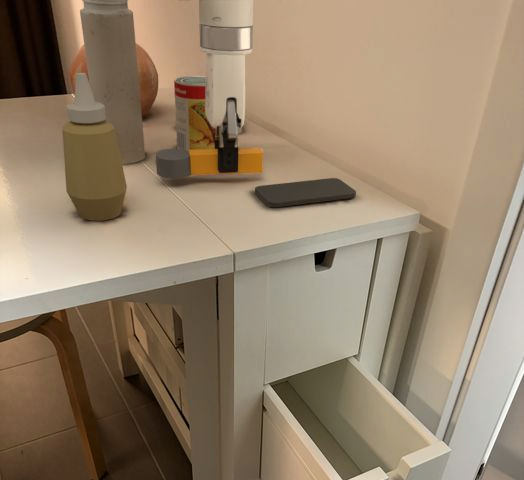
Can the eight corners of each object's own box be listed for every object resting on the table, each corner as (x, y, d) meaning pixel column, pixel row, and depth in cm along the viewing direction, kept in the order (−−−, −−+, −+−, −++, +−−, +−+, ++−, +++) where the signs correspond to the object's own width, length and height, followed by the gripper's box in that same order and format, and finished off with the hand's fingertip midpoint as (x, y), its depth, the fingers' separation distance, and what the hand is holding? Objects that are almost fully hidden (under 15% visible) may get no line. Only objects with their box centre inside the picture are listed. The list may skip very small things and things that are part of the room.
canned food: (228, 151, 104) (228, 81, 96) (194, 159, 99) (192, 86, 92) (202, 141, 108) (200, 73, 101) (169, 148, 104) (164, 78, 97)
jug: (70, 107, 124) (53, 3, 113) (149, 103, 130) (141, 3, 119) (82, 129, 111) (65, 13, 99) (170, 123, 117) (163, 13, 105)
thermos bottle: (89, 158, 97) (61, -36, 80) (118, 147, 103) (97, -37, 86) (126, 167, 94) (105, -33, 78) (154, 154, 100) (139, -33, 83)
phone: (252, 186, 87) (337, 177, 92) (252, 191, 87) (336, 182, 92) (270, 203, 81) (359, 193, 86) (269, 209, 82) (358, 198, 87)
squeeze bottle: (67, 205, 80) (44, 68, 69) (124, 200, 82) (109, 66, 72) (73, 228, 74) (48, 81, 63) (134, 221, 77) (120, 79, 66)
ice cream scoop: (157, 179, 86) (156, 158, 84) (155, 167, 90) (154, 147, 88) (264, 175, 89) (265, 155, 87) (257, 164, 93) (258, 145, 91)
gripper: (193, 31, 84) (197, 153, 95) (206, 48, 72) (209, 187, 83) (242, 31, 86) (240, 152, 97) (263, 49, 73) (258, 185, 84)
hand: (226, 167), depth 89 cm, fingers closed on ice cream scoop, 2 cm apart
